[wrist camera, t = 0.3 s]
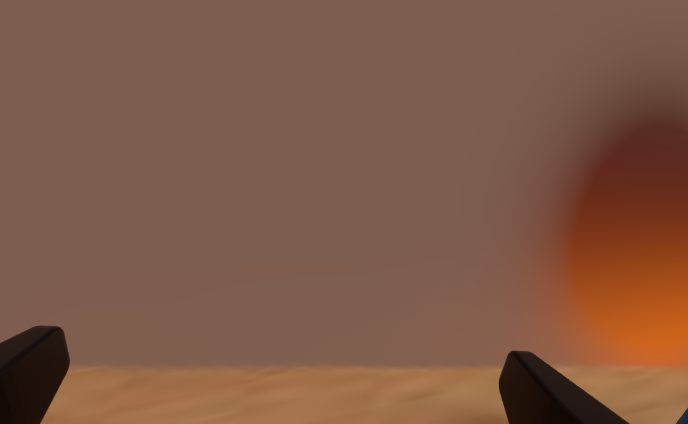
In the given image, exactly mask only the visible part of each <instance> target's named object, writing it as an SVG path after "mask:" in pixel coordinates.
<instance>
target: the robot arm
mask: <svg viewBox="0 0 688 424" xmlns="http://www.w3.org/2000/svg"><path fill="white" fill-rule="evenodd" d="M69 364H70V357H69V353H68V348H67V344H66V339H65V335H64V331H63V330H62V329H61V328H60V327H57V326H35V327H33V328H31V329H28V330H26V331H24V332H22V333H20V334H18V335H16V336H14V337H12V338H10V339H8V340H6V341H4V342H1V343H0V424H40V423H41V421H42V419H43V417H44V415H45V414H46V412H47V410H48V408H49V406H50V404H51V402H52V400H53V398H54V396H55V394H56V393H57V391H58V389H59V387H60V385H61V383H62V381H63V379H64V377H65V375H66V373H67V371H68V368H69ZM499 390H500V394H501V398H502V401H503V405H504V408H505V411H506V415H507V418H508V422H509V424H629V423H628V422H627V421H625V420H624V419H622V418H621V417H620V416H618V415H617V414H616V413H614V412H613V411H611V410H610V409H609V408H607V407H606V406H605V405H603V404H602V403H600V402H599V401H598V400H596V399H595V398H594V397H592V396H591V395H589V394H588V393H587V392H585V391H584V390H583V389H581V388H580V387H578V386H577V385H576V384H574V383H573V382H572V381H570V380H569V379H567V378H566V377H565V376H563V375H562V374H561V373H559V372H558V371H556V370H555V369H554V368H552V367H551V366H550V365H548V364H547V363H545V362H544V361H543V360H541V359H540V358H539V357H537V356H536V355H534V354H533V353H531V352H528V351H511V352H510V353H509V354H508V356H507V359H506V361H505V364H504V367H503V370H502V372H501V375H500V378H499Z"/></svg>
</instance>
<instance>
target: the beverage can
mask: <svg viewBox="0 0 688 424" xmlns="http://www.w3.org/2000/svg"><path fill="white" fill-rule="evenodd" d="M676 424H688V408H687V410H686V411H685V412H684V414H683V415H682V416H681V417H680V419H679V420H678V421H677V423H676Z"/></svg>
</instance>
